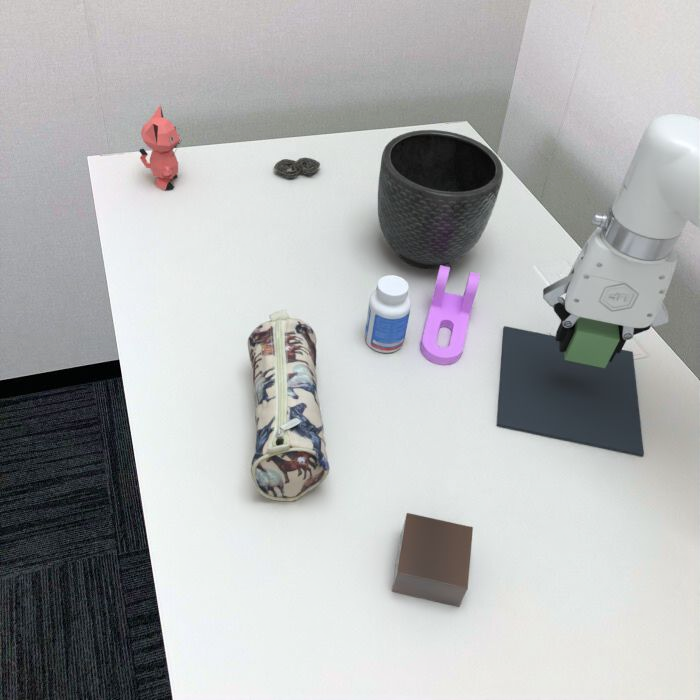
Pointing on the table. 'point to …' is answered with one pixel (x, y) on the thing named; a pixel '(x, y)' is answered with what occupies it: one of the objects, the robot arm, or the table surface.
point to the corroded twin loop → (297, 167)
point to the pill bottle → (388, 314)
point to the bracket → (448, 319)
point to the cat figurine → (161, 149)
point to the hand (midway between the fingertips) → (585, 347)
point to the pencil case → (286, 409)
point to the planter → (436, 195)
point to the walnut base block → (433, 560)
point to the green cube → (592, 342)
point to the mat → (567, 394)
